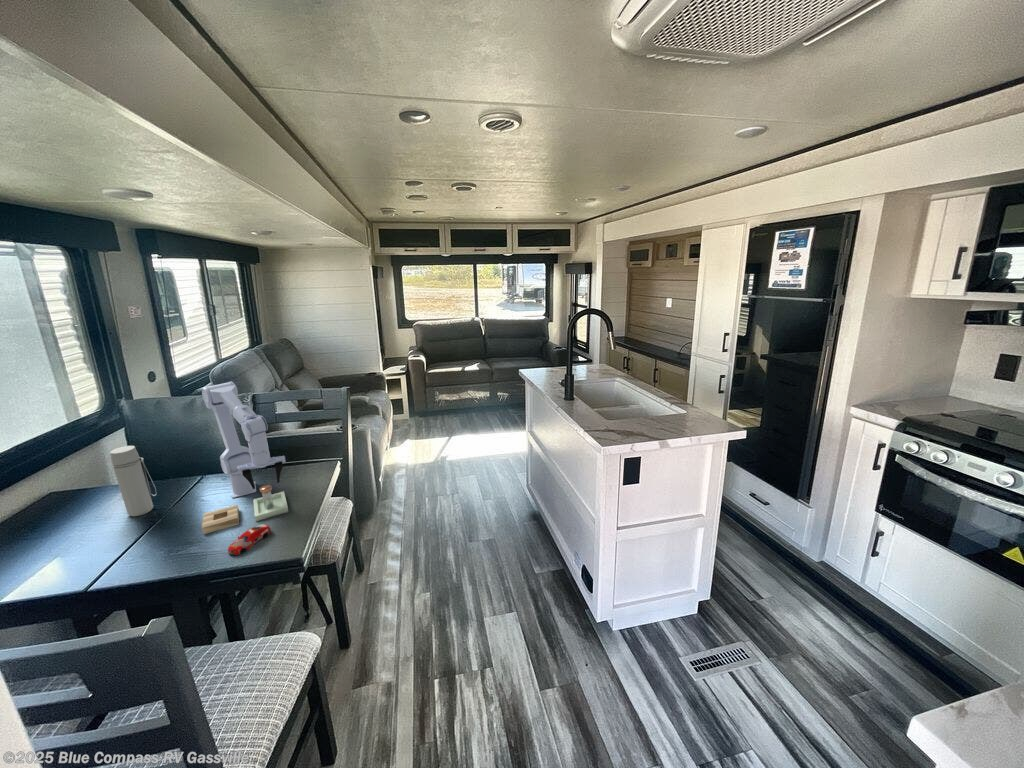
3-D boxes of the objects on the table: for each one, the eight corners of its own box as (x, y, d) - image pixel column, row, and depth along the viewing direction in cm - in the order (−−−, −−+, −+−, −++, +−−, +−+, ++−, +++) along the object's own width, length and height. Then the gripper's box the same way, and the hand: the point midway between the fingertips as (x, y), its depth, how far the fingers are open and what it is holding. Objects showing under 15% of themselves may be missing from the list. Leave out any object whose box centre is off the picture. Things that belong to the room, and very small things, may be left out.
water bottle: (127, 520, 144) (107, 456, 137) (128, 511, 150) (108, 449, 143) (161, 510, 150) (143, 448, 143) (160, 501, 155) (143, 441, 149)
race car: (236, 559, 124) (234, 547, 123) (224, 554, 126) (221, 544, 125) (274, 533, 136) (272, 522, 135) (263, 529, 138) (260, 519, 137)
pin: (263, 506, 150) (259, 487, 148) (274, 503, 152) (271, 484, 150) (263, 511, 147) (259, 491, 145) (275, 507, 149) (271, 488, 147)
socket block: (205, 519, 144) (203, 513, 143) (238, 510, 149) (237, 504, 148) (203, 534, 136) (201, 527, 135) (239, 524, 141) (237, 517, 140)
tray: (254, 504, 153) (253, 499, 152) (284, 495, 158) (283, 491, 158) (255, 521, 142) (254, 516, 142) (288, 511, 148) (287, 506, 147)
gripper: (234, 460, 137) (242, 495, 141) (283, 449, 144) (289, 483, 148) (234, 452, 142) (242, 487, 146) (281, 442, 150) (287, 475, 154)
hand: (266, 484), depth 148 cm, fingers open, 7 cm apart
